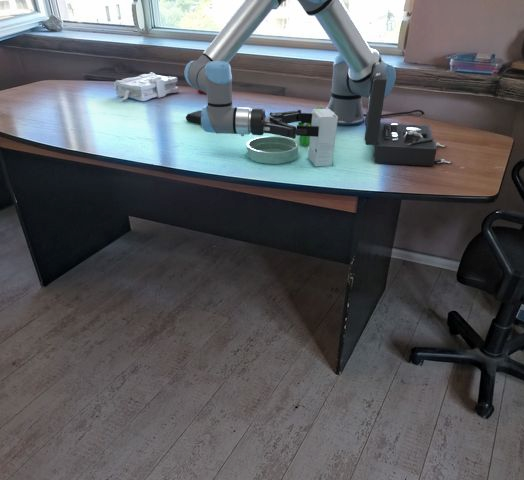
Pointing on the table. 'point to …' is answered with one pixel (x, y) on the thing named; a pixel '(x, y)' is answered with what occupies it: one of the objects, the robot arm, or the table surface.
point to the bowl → (272, 149)
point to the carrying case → (194, 117)
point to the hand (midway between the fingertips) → (320, 124)
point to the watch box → (395, 131)
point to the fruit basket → (306, 139)
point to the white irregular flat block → (145, 86)
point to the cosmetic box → (323, 137)
